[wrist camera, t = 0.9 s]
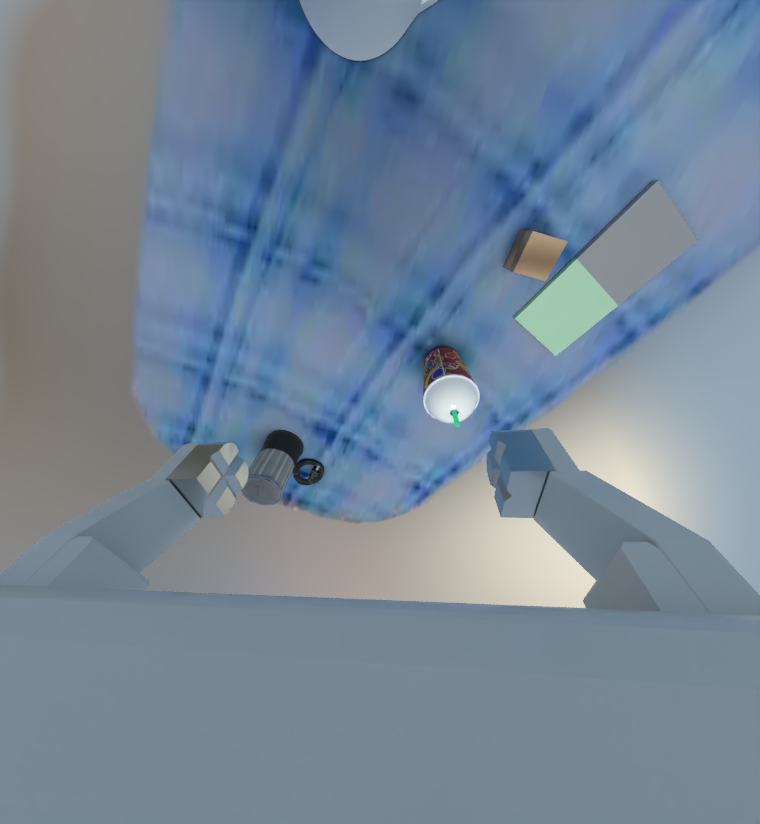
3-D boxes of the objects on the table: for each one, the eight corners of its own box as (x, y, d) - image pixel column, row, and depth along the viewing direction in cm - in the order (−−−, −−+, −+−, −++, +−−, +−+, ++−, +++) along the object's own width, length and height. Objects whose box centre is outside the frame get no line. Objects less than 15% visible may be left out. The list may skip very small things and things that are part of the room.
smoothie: (412, 352, 52) (415, 413, 36) (454, 332, 49) (478, 388, 33) (430, 386, 56) (440, 455, 40) (470, 369, 53) (498, 436, 37)
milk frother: (268, 424, 65) (237, 471, 53) (332, 443, 67) (316, 492, 55) (264, 463, 74) (236, 512, 61) (321, 479, 75) (305, 529, 63)
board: (652, 181, 36) (658, 180, 35) (692, 239, 39) (698, 240, 38) (513, 316, 47) (514, 318, 46) (553, 354, 50) (555, 356, 49)
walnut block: (519, 229, 40) (532, 230, 36) (551, 239, 40) (567, 241, 36) (503, 267, 43) (513, 271, 39) (532, 275, 43) (545, 281, 39)
